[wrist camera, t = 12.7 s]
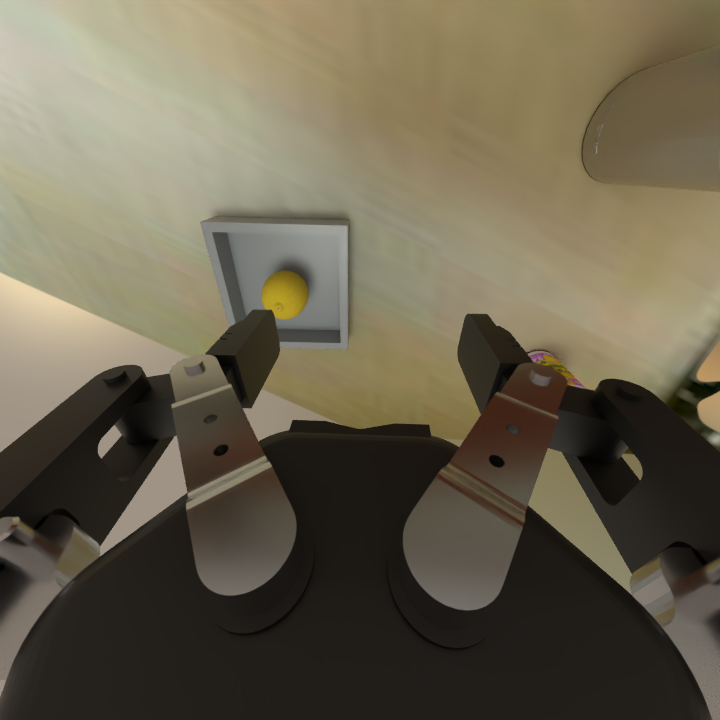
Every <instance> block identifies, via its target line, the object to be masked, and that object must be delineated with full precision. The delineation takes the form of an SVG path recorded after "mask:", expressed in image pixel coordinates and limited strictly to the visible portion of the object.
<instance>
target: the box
mask: <svg viewBox="0 0 720 720" xmlns="http://www.w3.org/2000/svg"><path fill="white" fill-rule="evenodd" d="M200 223H201V227H202V230H203V234H204V238H205V241H206V245H207V249H208V252H209V256H210V260H211V263H212V267H213V270H214V274H215V278H216V281H217V285H218V289H219V292H220V296H221V300H222V303H223V307H224V310H225V314H226V318H227V321H228V325H229V327H230V326H232V325H234V324H235V323H237V322H239V321H241V320H244V319H245V318H246V317H247V315H248V314H249V313H250V312H251V311H252V310H253V309H261V310H266V309H265V308H264V306H263V303H262V299H261V294H262V288H263V285H264V283H265V281H266V280H267V279H268V278H269V277H270V276H271V275H272V274H274V273H276V272H279V271H286V270H287V271H292V272H294V273H296V274H298V275H299V276H301V277H302V278H303V280H304V281H305V283H306V285H307V287H308V292H309V296H308V302H307V304H306V307H305V308H304V309H303V311H302V312H301V313H300V314H299V315H297V316H296V317H294V318H291V319H286V320H284V319H278V318H275V321H276V326H277V331H278V337H279V342H280V348H309V349H348V341H349V220H337V219H298V218H259V217H221V216H216V217H213V218H210V219H207V220H204V221H201V222H200Z"/></svg>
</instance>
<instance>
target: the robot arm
mask: <svg viewBox="0 0 720 720" xmlns="http://www.w3.org/2000/svg"><path fill="white" fill-rule="evenodd" d="M582 154H583V163H584V166H585V169H586V171H587V172H588V173H589V175H590V176H591V177H592V178H594V179H595V180H597V181H600V182H603V183H612V184H625V185H635V186H648V187H662V188H675V189H688V190H702V191H715V192H720V44H719V45H716V46H713V47H710V48H707V49H704V50H701V51H698V52H695V53H692V54H689V55H686V56H682V57H679V58H677V59H674V60H671V61H668V62H665V63H662V64H659V65H656V66H653V67H650V68H647V69H644V70H642V71H640V72H638V73H636V74H633V75H632V76H630V77H629V78H627V79H626V80H624V81H623V82H621V83H620V84H619V85H618V86H617V87H616V88H615V89H614V90H613V91H612V92H611V93H610V94H609V95H608V96H607V97H606V98H605V100H604V101H603V102H602V103H601V105H600V106H599V108H598V109H597V111H596V112H595V114H594V116H593V117H592V120H591V122H590V124H589V126H588V128H587V131H586V135H585V138H584V143H583V151H582ZM279 352H280V342H279V337H278V331H277V326H276V321H275V316H274V313H273V311H272V310H261V309H253V310H252V311H251V312H250V313H249V314H248V315H247V317H246V318H245V319H244V320H241V321H239V322H237V323H235V324H234V325H232V326H230V327H229V329H228V330H227V331H226V332H225V334H223V335H222V336H221V337H220V340H218V341H217V342H216V343H215V344H214V345H213V346H212V347H211V348H210V349H209V350H208V351H207V353H206V354H202V355H195V356H191V357H188V358H185V359H183V360H181V361H179V362H177V363H176V364H175V365H174V366H173V367H172V368H171V370H170V374H164V375H159V376H152V377H146V375H145V373H144V371H143V370H142V368H141V367H140V366H137V365H124V366H119V367H115V368H112V369H109V370H107V371H104V372H102V373H100V374H99V375H97V376H95V377H94V378H93V379H92V380H90V381H89V382H88V383H86V384H85V385H84V386H83V387H81V388H80V389H79V390H78V391H77V392H75V393H74V394H73V395H71V396H70V397H69V398H68V399H67V400H65V401H64V402H63V403H61V404H60V405H59V406H58V407H56V408H55V409H54V410H53V411H51V412H50V413H49V414H48V415H47V416H45V417H44V418H43V419H42V420H40V421H39V422H38V423H37V424H35V425H34V426H33V427H32V428H30V429H29V430H28V431H27V432H25V433H24V434H23V435H22V436H20V437H19V438H18V439H17V440H16V441H14V442H13V443H12V444H11V445H9V446H8V447H7V448H5V449H4V450H3V451H2V452H0V692H2V694H1V697H0V720H720V452H719V451H718V450H717V449H715V448H714V447H713V446H712V445H711V444H710V443H709V442H708V441H706V440H705V439H704V438H703V437H702V436H701V435H700V434H699V433H697V432H696V431H695V430H694V429H693V428H692V427H691V426H689V425H688V424H687V423H686V422H685V421H684V420H683V419H682V418H680V417H679V416H678V415H677V414H676V413H675V412H674V411H673V410H671V409H670V408H669V407H668V406H667V405H666V404H665V403H664V402H662V401H661V400H660V399H659V398H658V397H657V396H656V395H654V394H653V393H652V392H650V391H649V390H647V389H645V388H643V387H641V386H639V385H637V384H634V383H631V382H628V381H624V380H619V379H605V380H602V381H601V382H600V383H599V385H598V386H597V388H596V389H595V391H593V390H589V389H584V388H579V387H575V386H570V385H567V380H566V378H565V377H564V376H563V375H562V374H561V373H560V372H558V371H557V370H555V369H553V368H551V367H549V366H546V365H543V364H538V363H534V362H533V361H532V359H531V358H530V357H529V356H528V354H527V353H526V352H525V351H524V349H523V348H522V347H520V344H519V343H518V342H517V341H516V339H515V338H514V337H513V336H512V334H511V333H510V332H508V331H507V330H505V329H504V328H502V327H500V326H496V325H495V324H494V322H493V321H492V320H491V318H490V317H489V316H488V314H467V315H466V317H465V319H464V323H463V328H462V332H461V337H460V341H459V345H458V361H459V363H460V366H461V368H462V371H463V373H464V375H465V378H466V380H467V382H468V385H469V387H470V390H471V392H472V394H473V397H474V399H475V401H476V404H477V406H478V409H479V411H480V413H481V415H480V417H479V418H478V420H477V421H476V423H475V424H474V426H473V427H472V429H471V430H470V432H469V433H468V435H467V436H466V438H465V439H464V441H463V442H462V444H461V446H460V447H458V446H456V445H454V444H452V443H450V442H448V441H446V440H444V439H441V438H438V437H435V436H431V432H430V427H429V425H421V424H389V425H383V426H378V427H372V428H366V429H356V428H351V427H347V426H343V425H339V424H335V423H331V422H327V421H307V420H293V421H292V424H291V427H290V429H289V430H288V431H284V432H280V433H277V434H274V435H271V436H269V437H266V438H264V439H262V440H260V441H259V442H258V440H257V438H256V435H255V433H254V431H253V429H252V427H251V425H250V423H249V421H248V419H247V417H246V415H245V413H244V411H243V408H252V406H253V404H254V402H255V400H256V398H257V396H258V394H259V392H260V391H261V389H262V387H263V385H264V383H265V381H266V379H267V377H268V375H269V373H270V371H271V369H272V368H273V366H274V364H275V362H276V360H277V358H278V356H279ZM114 424H115V426H116V427H117V429H118V430H119V431H120V433H121V434H122V436H121V437H120V438H119V439H118V441H117V442H116V443H115V444H114V445H113V446H112V447H111V449H110V450H109V451H108V452H107V453H106V454H105V456H104V457H103V458H102V459H101V458H100V457H99V455H98V444H99V442H100V440H101V438H102V437H103V436H104V435H105V434H106V433H107V432H108V431H109V430H110V428H111V427H112V426H113V425H114ZM174 436H177V439H178V444H179V449H180V455H181V461H182V466H183V471H184V477H185V481H186V487H187V493H186V494H185V495H184V496H182V497H181V498H180V499H178V500H177V501H176V502H174V503H173V504H171V505H170V506H169V507H167V508H166V509H164V510H163V511H162V512H160V513H159V514H158V515H156V516H155V517H154V518H152V519H151V520H149V521H148V522H147V523H145V524H144V525H143V526H141V527H140V528H139V529H137V530H136V531H135V532H133V533H132V534H130V535H129V536H128V537H126V538H125V539H123V540H122V541H121V542H119V543H118V544H117V545H115V546H114V547H113V548H111V549H110V550H108V551H107V552H106V553H104V554H103V555H102V556H100V557H99V555H100V546H101V544H102V543H103V541H104V540H105V538H106V537H107V535H108V534H109V532H110V531H111V530H112V528H113V527H114V525H115V523H116V522H117V520H118V519H119V518H120V516H121V515H122V513H123V512H124V510H125V509H126V507H127V505H128V504H129V503H130V501H131V500H132V498H133V497H134V495H135V494H136V492H137V491H138V489H139V488H140V487H141V485H142V484H143V482H144V481H145V479H146V478H147V476H148V474H149V473H150V472H151V470H152V469H153V467H154V466H155V464H156V462H157V461H158V460H159V458H160V457H161V455H162V454H163V452H164V451H165V449H166V448H167V447H168V445H169V443H170V442H171V441H172V439H173V437H174ZM628 447H629V449H630V450H631V451H632V452H633V454H634V455H635V456H636V457H637V458H638V460H639V461H640V463H641V466H642V469H643V476H642V479H641V480H639V479H638V477H637V476H636V475H635V473H633V471H632V470H631V469H630V467H629V466H628V464H627V463H626V462H625V461H624V459H623V458H622V457H621V456H622V455H623V453H624V452H625V451H626V450H627V449H628ZM548 448H550V449H554V450H558V451H561V452H562V453H563V455H564V456H565V459H566V460H567V462H568V463H569V465H570V467H571V469H572V471H573V472H574V474H575V476H576V478H577V479H578V481H579V483H580V484H581V486H582V488H583V490H584V492H585V493H586V495H587V497H588V498H589V500H590V502H591V504H592V505H593V507H594V509H595V511H596V512H597V514H598V516H599V518H600V519H601V521H602V523H603V525H604V526H605V528H606V530H607V531H608V533H609V535H610V537H611V538H612V540H613V542H614V544H615V545H616V547H617V549H618V551H619V552H620V554H621V556H622V557H623V559H624V561H625V562H626V565H627V566H628V568H629V570H630V571H631V573H632V576H631V578H630V589H631V593H632V595H631V594H630V593H629V592H628V591H627V590H625V589H624V588H623V587H622V586H621V585H620V584H618V583H617V582H616V581H615V580H614V579H613V578H611V577H610V576H609V575H608V574H607V573H606V572H605V571H603V570H602V569H601V568H600V567H599V566H597V565H596V564H595V563H594V562H593V561H592V560H591V559H590V558H588V557H587V556H586V555H585V554H584V553H583V552H581V551H580V550H579V549H578V548H577V547H576V546H574V545H573V544H572V543H571V542H570V541H569V540H567V539H566V538H565V537H564V536H563V535H562V534H561V533H559V532H558V531H557V530H556V529H555V528H554V527H553V526H551V525H550V524H549V523H548V522H547V521H546V520H544V519H543V518H542V517H541V516H540V515H539V514H537V513H536V512H535V511H534V510H533V509H532V508H530V507H529V506H528V503H529V500H530V497H531V495H532V492H533V489H534V486H535V483H536V480H537V478H538V475H539V472H540V469H541V466H542V463H543V460H544V458H545V455H546V452H547V449H548Z"/></svg>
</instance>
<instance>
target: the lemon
mask: <svg viewBox="0 0 720 720" xmlns="http://www.w3.org/2000/svg"><path fill="white" fill-rule="evenodd" d="M308 296H309V292H308V287H307V285H306V283H305V281H304V280H303V278H302V277H301V276H299V275H298V274H296V273H294V272H292V271H287V270H286V271H279V272H276V273H274V274H272V275H271V276H270V277H269V278H268V279H267V280H266V281H265V283H264V285H263V288H262V294H261V299H262V303H263V306H264V308H265V309H266V310H272V311H273V313H274V316H275V318H278V319H284V320H286V319H291V318H294V317H296V316H297V315H299V314H300V313H301V312H302V311H303V309H304V308H305V307H306V304H307V302H308Z"/></svg>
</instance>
